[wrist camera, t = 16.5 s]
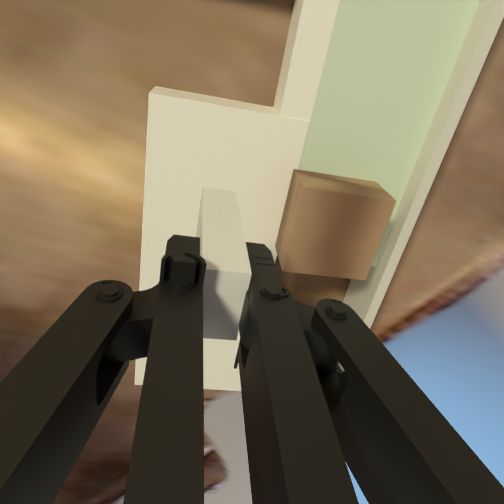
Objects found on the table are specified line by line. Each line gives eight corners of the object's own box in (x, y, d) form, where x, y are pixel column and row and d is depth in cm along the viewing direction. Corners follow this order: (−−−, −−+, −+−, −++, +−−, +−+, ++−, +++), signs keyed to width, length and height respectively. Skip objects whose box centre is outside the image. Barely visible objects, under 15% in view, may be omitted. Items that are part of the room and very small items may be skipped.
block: (274, 245, 29) (282, 271, 26) (293, 168, 26) (304, 187, 23) (349, 254, 30) (365, 280, 27) (375, 181, 27) (396, 201, 24)
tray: (140, 363, 38) (131, 401, 34) (176, -277, 18) (165, -361, 14) (323, 375, 41) (334, 412, 37) (526, -160, 21) (597, -203, 17)
